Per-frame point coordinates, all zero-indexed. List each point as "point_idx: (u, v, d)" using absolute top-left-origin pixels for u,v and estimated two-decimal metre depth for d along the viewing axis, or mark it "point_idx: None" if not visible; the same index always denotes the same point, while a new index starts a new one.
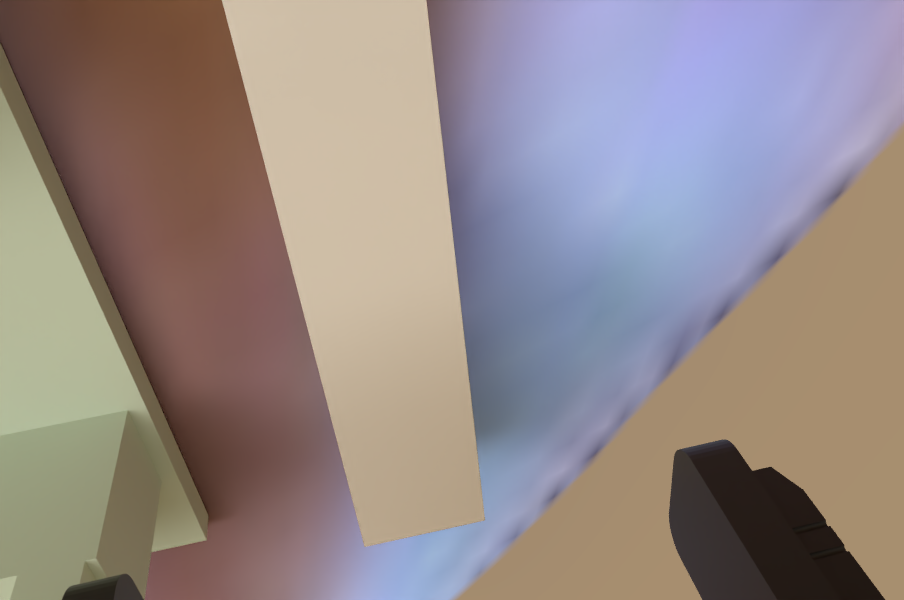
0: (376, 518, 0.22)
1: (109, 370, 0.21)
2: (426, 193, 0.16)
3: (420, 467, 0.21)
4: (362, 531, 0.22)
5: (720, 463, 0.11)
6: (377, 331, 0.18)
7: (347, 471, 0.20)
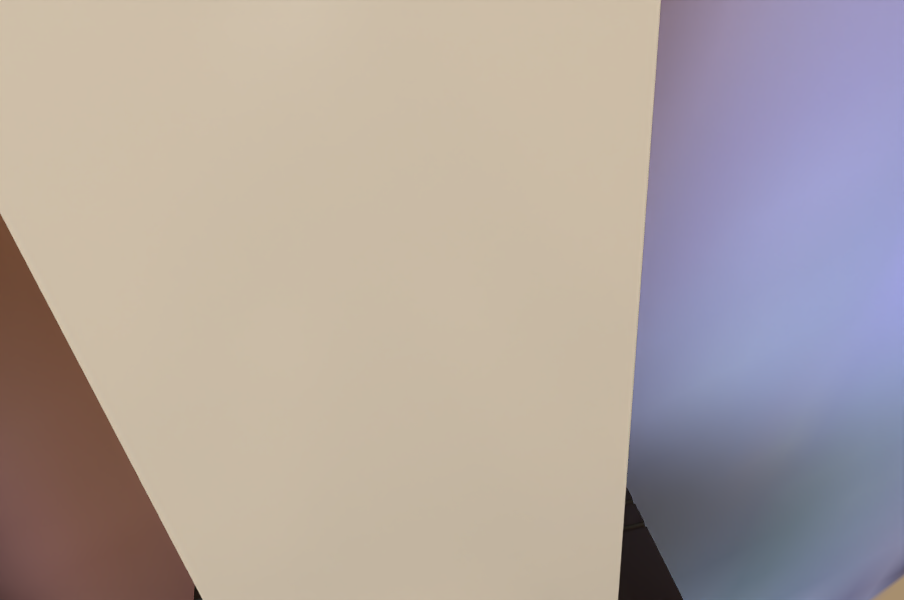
0: None
1: None
2: None
3: None
4: None
5: None
6: None
7: None
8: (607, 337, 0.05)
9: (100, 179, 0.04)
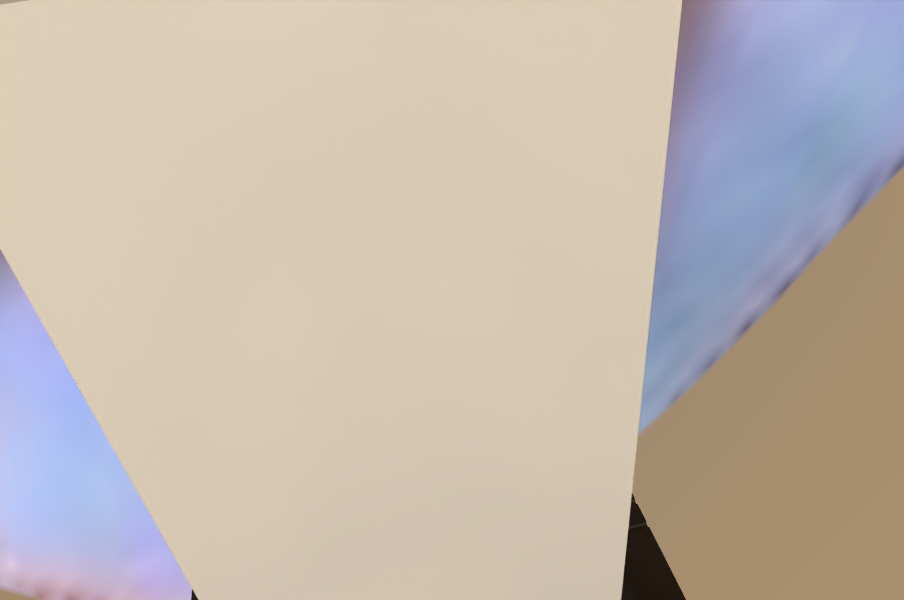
0: None
1: None
2: None
3: None
4: None
5: None
6: None
7: None
8: (617, 351, 0.05)
9: (98, 202, 0.04)
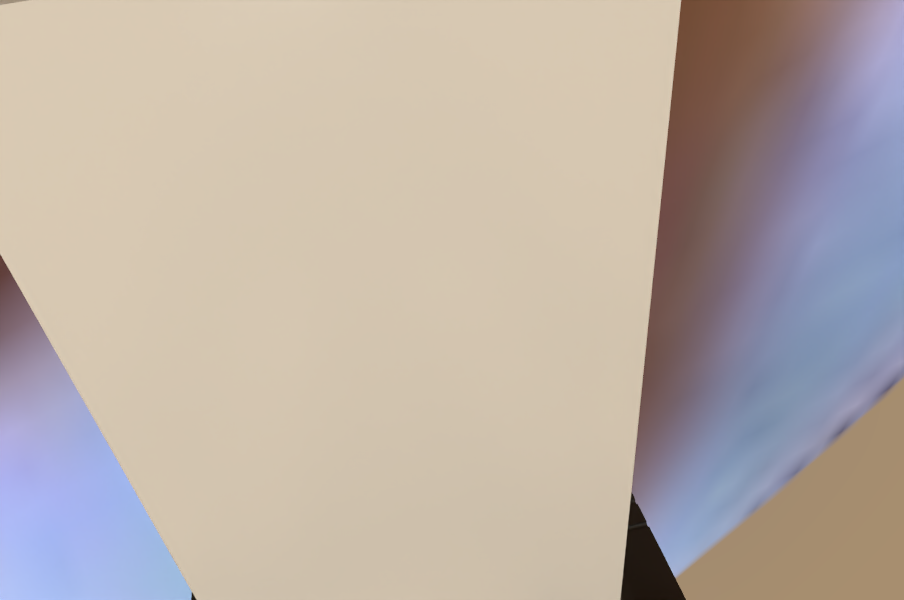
0: None
1: None
2: None
3: None
4: None
5: None
6: None
7: None
8: (615, 353, 0.05)
9: (96, 203, 0.04)
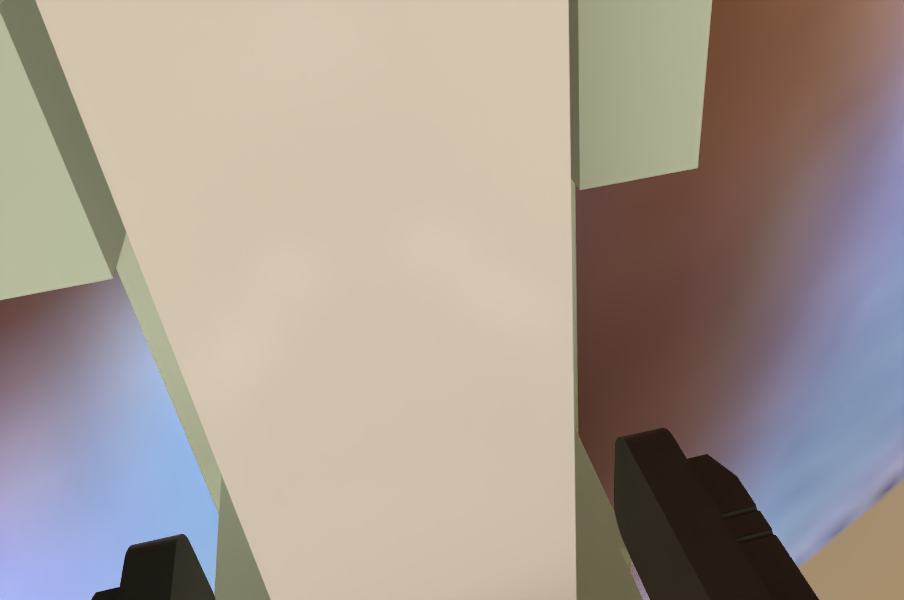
0: None
1: None
2: (538, 538, 0.09)
3: None
4: None
5: (656, 450, 0.11)
6: None
7: None
8: (546, 181, 0.06)
9: (128, 9, 0.05)
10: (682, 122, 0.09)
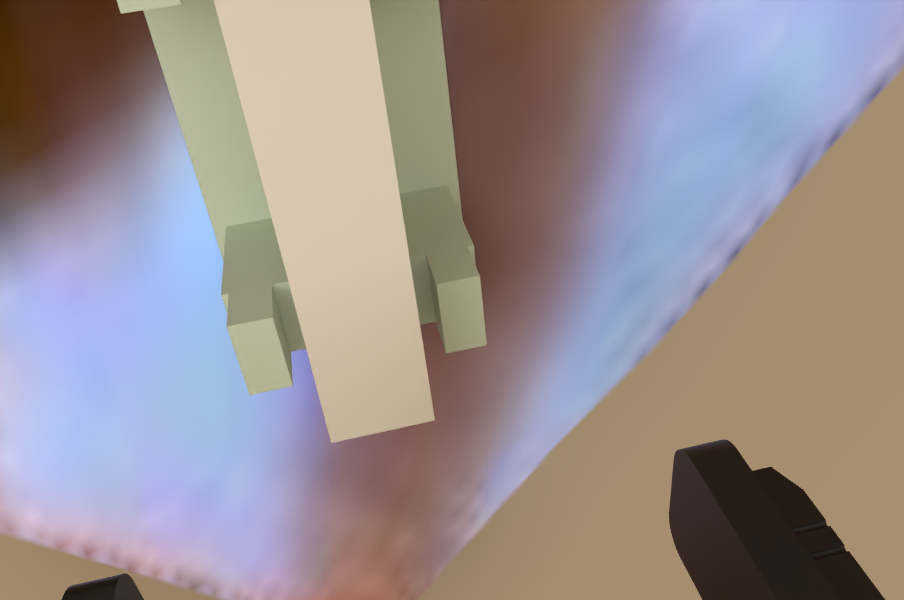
0: (340, 416, 0.25)
1: (443, 151, 0.31)
2: (370, 120, 0.20)
3: (376, 367, 0.25)
4: (328, 427, 0.26)
5: (720, 463, 0.11)
6: (334, 241, 0.22)
7: (314, 370, 0.24)
8: None
9: None
10: None
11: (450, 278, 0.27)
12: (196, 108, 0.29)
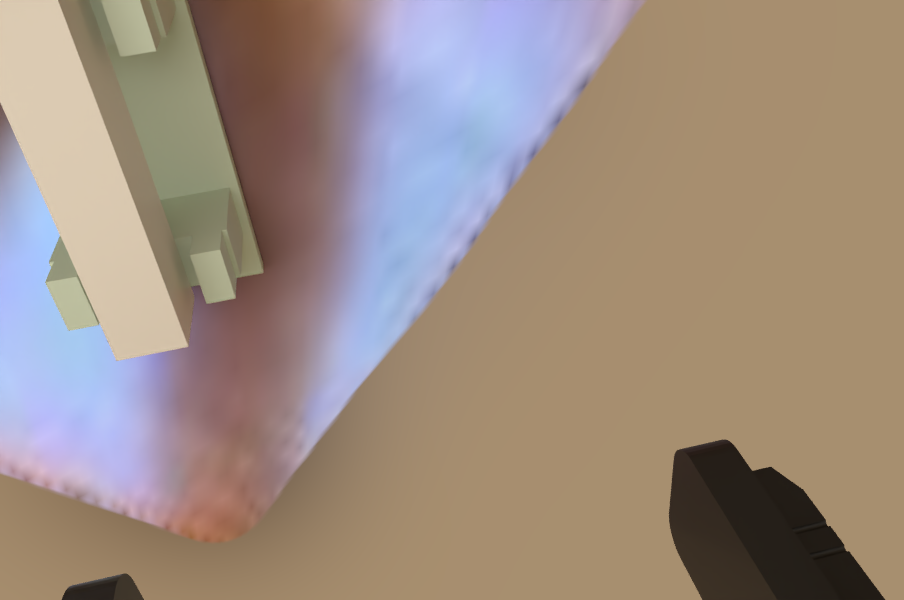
0: (119, 341, 0.38)
1: (222, 163, 0.44)
2: (103, 149, 0.33)
3: (138, 308, 0.38)
4: (112, 350, 0.39)
5: (720, 463, 0.11)
6: (93, 224, 0.35)
7: (94, 309, 0.37)
8: (67, 41, 0.30)
9: None
10: (145, 37, 0.33)
11: (200, 251, 0.40)
12: None
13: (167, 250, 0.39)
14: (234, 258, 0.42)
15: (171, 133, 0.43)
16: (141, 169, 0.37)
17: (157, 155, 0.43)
